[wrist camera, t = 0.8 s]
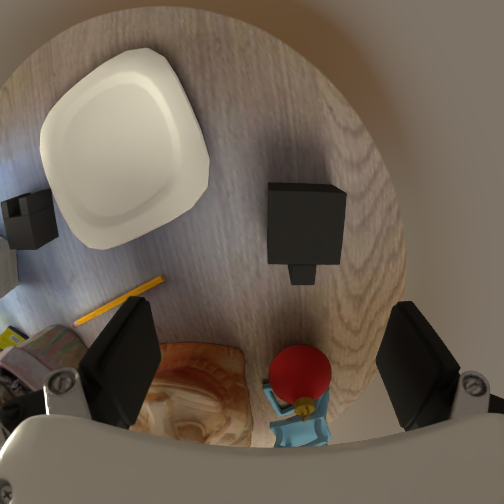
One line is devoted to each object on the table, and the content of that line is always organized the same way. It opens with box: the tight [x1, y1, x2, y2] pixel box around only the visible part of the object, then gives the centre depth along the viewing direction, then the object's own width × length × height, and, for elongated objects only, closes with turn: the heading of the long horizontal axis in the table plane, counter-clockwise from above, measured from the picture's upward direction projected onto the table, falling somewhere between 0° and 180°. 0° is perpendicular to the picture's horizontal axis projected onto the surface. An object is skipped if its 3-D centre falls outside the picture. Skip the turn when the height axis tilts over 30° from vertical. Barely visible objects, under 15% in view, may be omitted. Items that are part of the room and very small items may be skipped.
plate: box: [40, 48, 210, 250], centre depth 22 cm, size 18×18×2 cm
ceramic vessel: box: [129, 342, 253, 447], centre depth 28 cm, size 14×26×15 cm, turn 2°
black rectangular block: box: [267, 183, 347, 285], centre depth 23 cm, size 8×6×4 cm
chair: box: [263, 383, 331, 448], centre depth 29 cm, size 8×8×12 cm
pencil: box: [72, 275, 165, 328], centre depth 30 cm, size 1×18×1 cm, turn 119°
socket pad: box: [1, 189, 58, 250], centre depth 24 cm, size 6×6×4 cm
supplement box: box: [0, 326, 28, 353], centre depth 31 cm, size 6×6×11 cm
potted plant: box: [0, 325, 88, 410], centre depth 23 cm, size 18×20×25 cm
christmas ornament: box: [269, 344, 332, 422], centre depth 27 cm, size 7×7×10 cm
